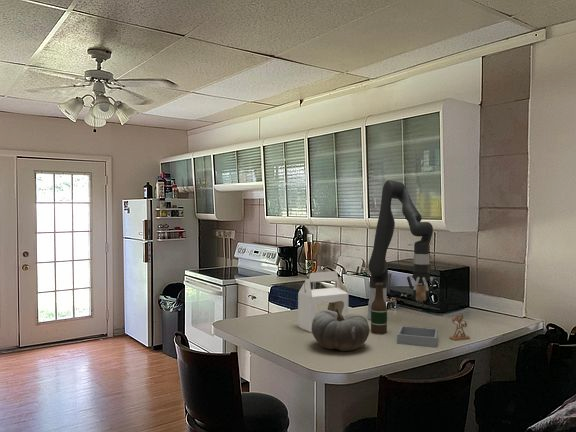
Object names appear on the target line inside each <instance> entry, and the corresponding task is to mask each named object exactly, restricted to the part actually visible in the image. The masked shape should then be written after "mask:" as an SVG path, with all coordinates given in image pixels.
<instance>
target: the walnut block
mask: <svg viewBox="0 0 576 432" xmlns="http://www.w3.org/2000/svg"><path fill="white" fill-rule="evenodd" d="M415 301H427V299H426V286H425V285H424V284H418V285H416V298H415Z"/></svg>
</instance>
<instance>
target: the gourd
mask: <svg viewBox="0 0 576 432" xmlns="http://www.w3.org/2000/svg"><path fill="white" fill-rule="evenodd" d="M335 311H336V312H334V311H331V310H328V309H322V310H320V311H319V312H317V315H316V316H315V317H314V319H313V322H312V333H311V334H312V336H313V337H314V339H315V340H316V342H317V343H318V344H319V345H320V346H321V347H322V348H325V349H328V350H335V349H336V350H339V351H341V352H349V351H350V352H351V351H355V350H357V349H358V348H360V347H361V346H363V345H364V344H365V342H366V341H367V339H369V334H370V331H371V328H370V325H369V323H368V319H367V318H366V317H365V316H364V315H362V314H360V313H355V312H354V313H348V315H346V316H343V315H342V314H341V313H340V312H339V311H338V309H337V308H336V309H335Z"/></svg>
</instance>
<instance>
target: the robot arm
mask: <svg viewBox="0 0 576 432" xmlns="http://www.w3.org/2000/svg"><path fill="white" fill-rule="evenodd" d="M380 199H381V201H380V207H379V209H380V210H379V214H378V220H377V224H376V227H375V228H376V229H375V234H374V241H373V246H372V247H373V249H372V252H371V255H370V259H369V261H368V271H369V273H370V279H369V282H368V284H369V286H368V288H369V290H368V292H369V293H368V294H369V296H368V302H367V304H368V307H367V311H368V313H367V320H371V305H372V302H373V301H374V300H375V293H376V283H383V299H384V301H385V303H386V304H387V285H388V279H389V278H388V274H389V272H388V271H389V266H388V262H387V260H386V257H387V251H388V249H389V247H390V244H391V241H392V239H393V236H394V232H395V226H396V222H395V218H394V215H393V212H392V206H391V205H392V200H393V199H395V200H398V201H399V202H401V205H402V207H401V211H402V214H403V216H404V218H405V219H406V221H407V223H408V226H409V230H410V234H411V235H412V236H414V237H420V238H421V239H420V240H418V241H415V242H414V243H413V266H412V267H413V269H412V270H413V273H412V275H407V277H406V279H407V283H408V287H409V289H410V290H411V289H412V290H413V291H412V292H413V297H414V298H415V299H416V285H418V284H422V285H425V286H426V300H428V298H429V296H430V293H429V291H432V290H433V289H434V285H435V283H436V280H437V279H436V278H437V277H433V276H431V275H430V263H431V262H430V261H431V260H430V243H431V242H432V241H431V240H432V237H433V232H434V228H433V224H432V223H431V222H430V221H422V219H423V218H422V215H421V213H420V212H419V210H418V209H417V208H416V205H414V203H413V201H412V199H411V196H410V194H409V191H408V189H407V187H406V185H405V184H404V183H403V182H401V181H397V180H389V179H388V180H386V181H385V182H384V184H383V187H382V191H381V197H380ZM412 280H414V281H415V283H414V285H413V283H412ZM429 280H430V282H431V283H430V286H429V285H428V281H429Z"/></svg>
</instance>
